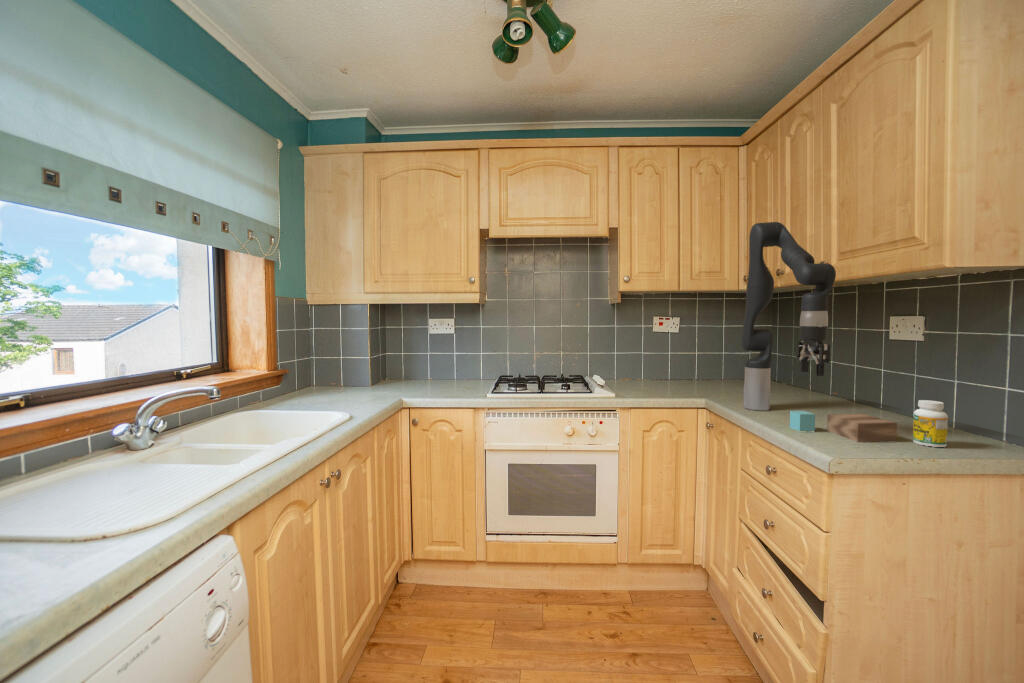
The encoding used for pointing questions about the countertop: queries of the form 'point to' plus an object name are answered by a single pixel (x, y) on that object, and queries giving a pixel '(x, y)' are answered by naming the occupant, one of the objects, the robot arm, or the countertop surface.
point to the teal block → (802, 420)
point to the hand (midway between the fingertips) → (811, 373)
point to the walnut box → (862, 427)
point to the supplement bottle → (930, 424)
